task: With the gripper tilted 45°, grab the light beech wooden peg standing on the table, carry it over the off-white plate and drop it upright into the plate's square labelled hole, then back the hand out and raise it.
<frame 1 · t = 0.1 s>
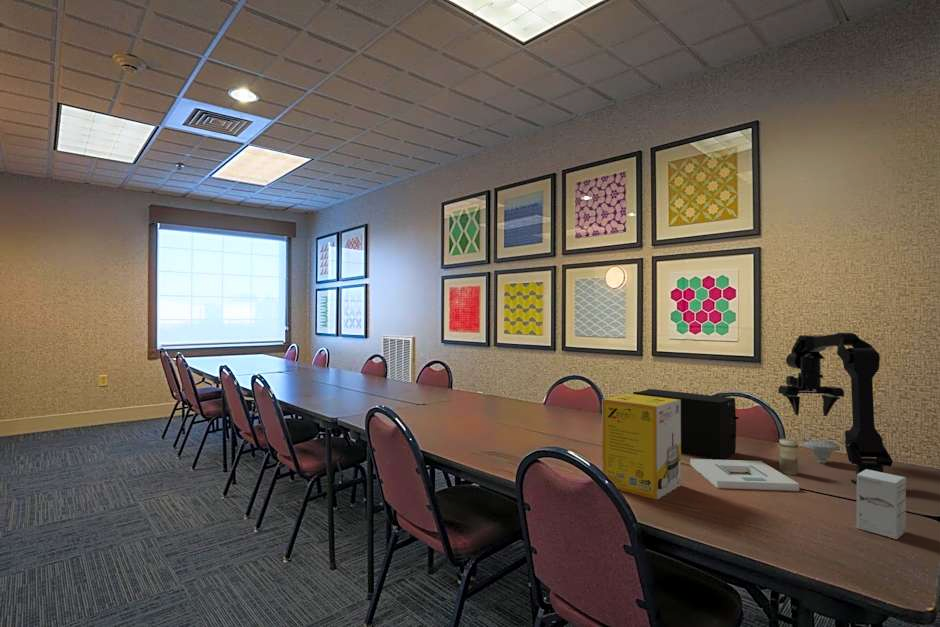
hand: (810, 415, 167), 15 cm above the table, tool pointing down, fingers open, 9 cm apart
beech peg: (788, 472, 151), on the table
supplement box: (881, 531, 109), on the table
uninterruptible power supply: (684, 449, 179), on the table
hole plate: (740, 476, 147), on the table
showerhead: (820, 462, 162), on the table
packaging box: (641, 486, 139), on the table
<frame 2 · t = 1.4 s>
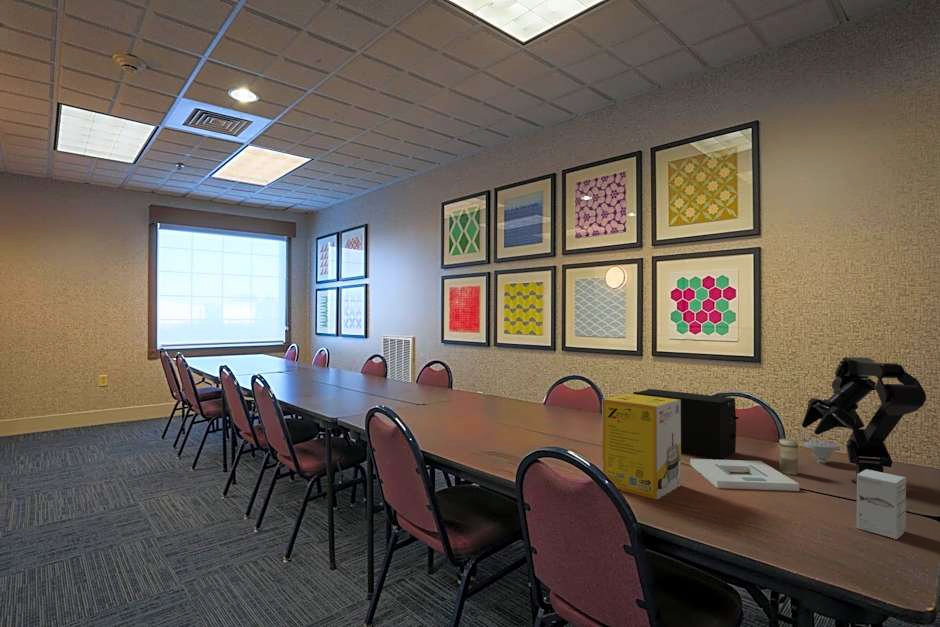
hand: (809, 430, 150), 14 cm above the table, tool tilted 45°, fingers open, 9 cm apart
nothing on the table moved.
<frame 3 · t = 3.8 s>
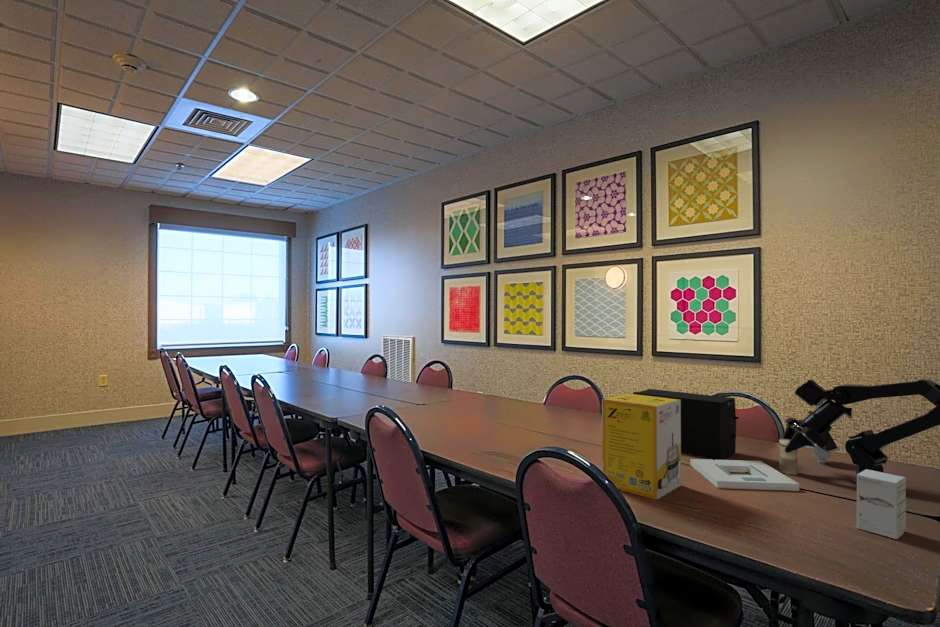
hand: (783, 449, 151), 7 cm above the table, tool tilted 45°, fingers closed on beech peg, 5 cm apart
beech peg: (788, 472, 151), on the table, touching gripper
everything else where it was.
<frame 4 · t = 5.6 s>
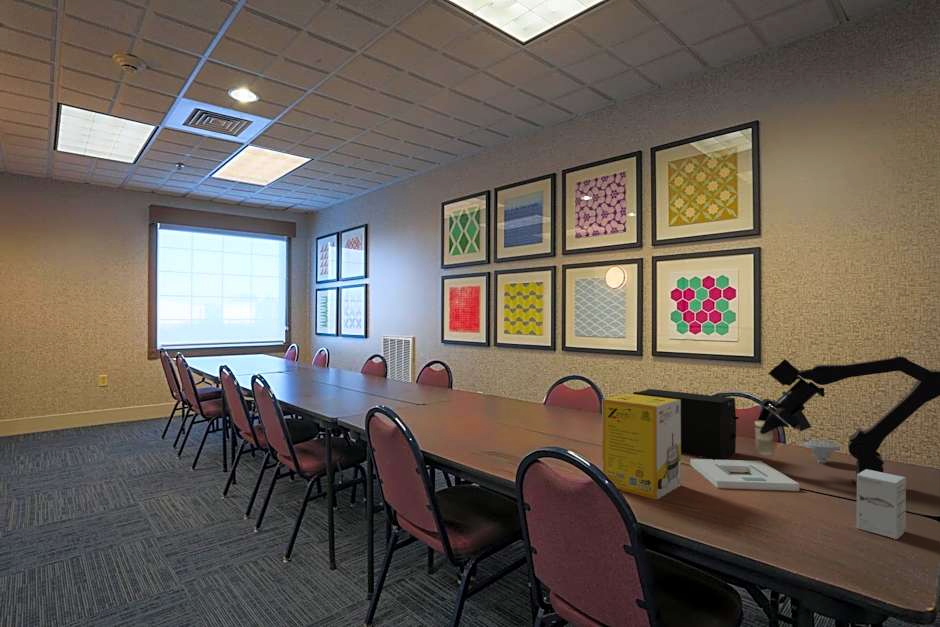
hand: (758, 431, 153), 13 cm above the table, tool tilted 40°, fingers closed on beech peg, 5 cm apart
beech peg: (764, 453, 152), point 6 cm above the table, touching gripper
everything else where it was.
when the fingers open (8 cm above the table, at t = 7.5 s): beech peg drops 1 cm, resting in hole plate.
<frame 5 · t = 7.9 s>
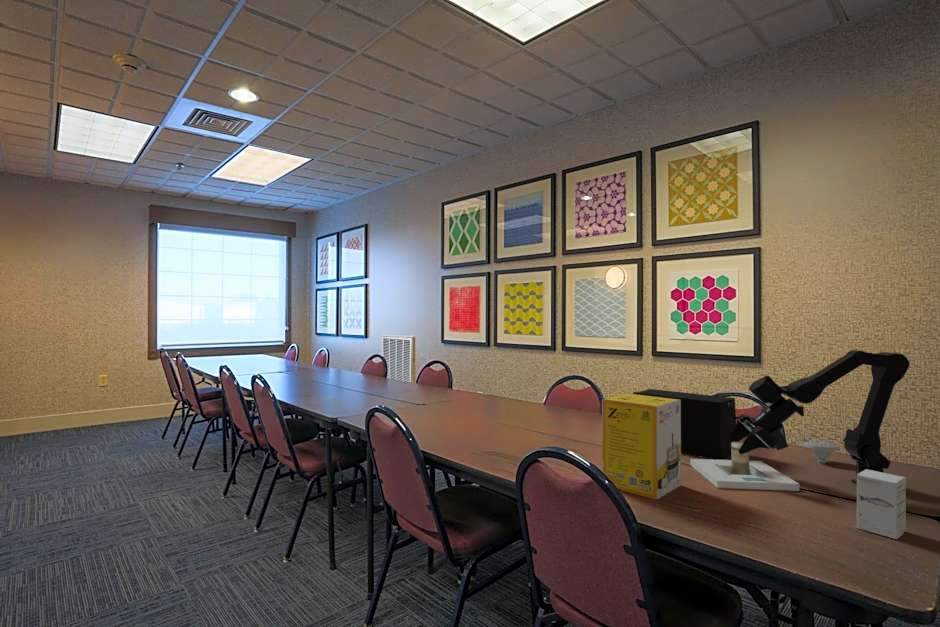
hand: (735, 448, 147), 9 cm above the table, tool tilted 45°, fingers open, 9 cm apart
beech peg: (740, 476, 147), resting in hole plate
everything else where it was.
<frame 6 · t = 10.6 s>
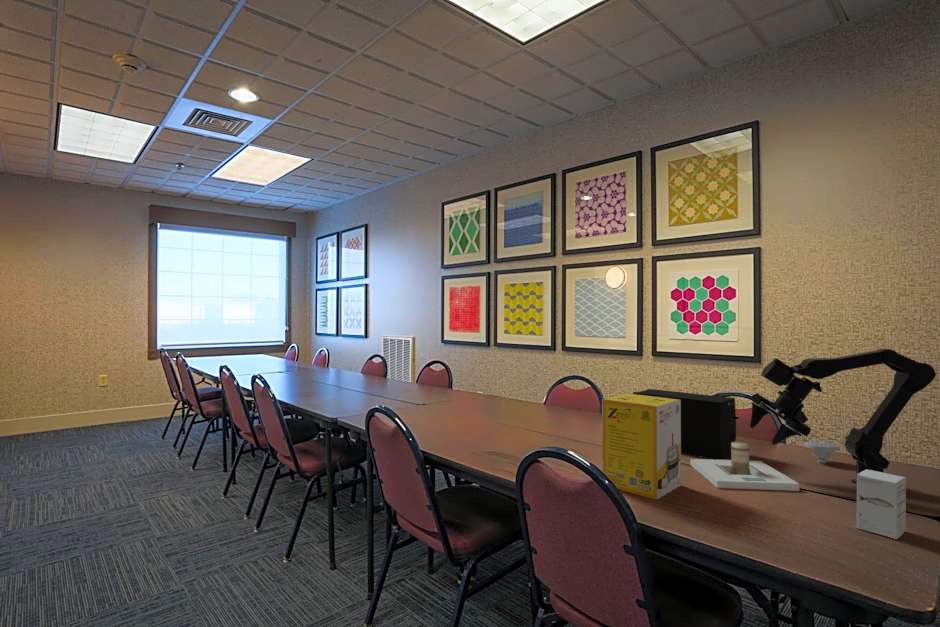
hand: (761, 435, 148), 12 cm above the table, tool tilted 35°, fingers open, 9 cm apart
nothing on the table moved.
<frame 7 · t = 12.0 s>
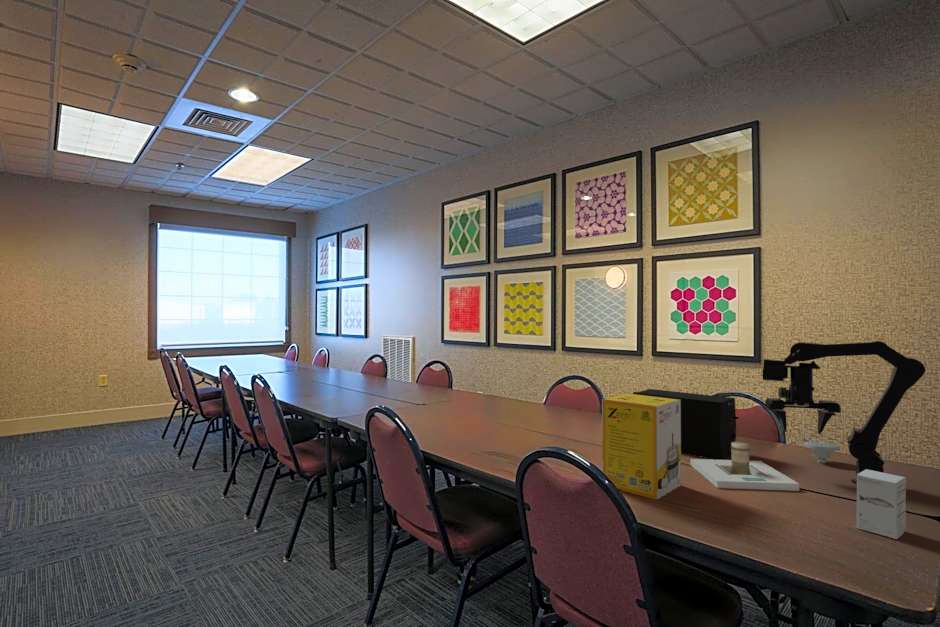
hand: (801, 432, 149), 13 cm above the table, tool pointing down, fingers open, 9 cm apart
nothing on the table moved.
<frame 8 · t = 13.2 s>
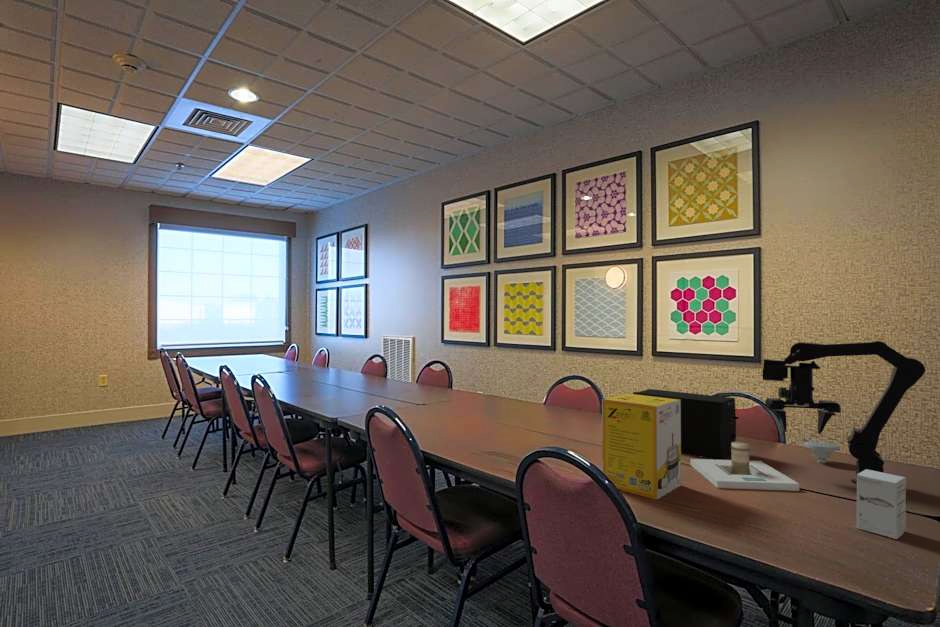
hand: (801, 432, 149), 13 cm above the table, tool pointing down, fingers open, 9 cm apart
nothing on the table moved.
at the end: beech peg 0.4 cm off-centre on the hole plate, point 0.0 cm above the hole plate's base; beech peg tilted 0°; the gripper is holding nothing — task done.
